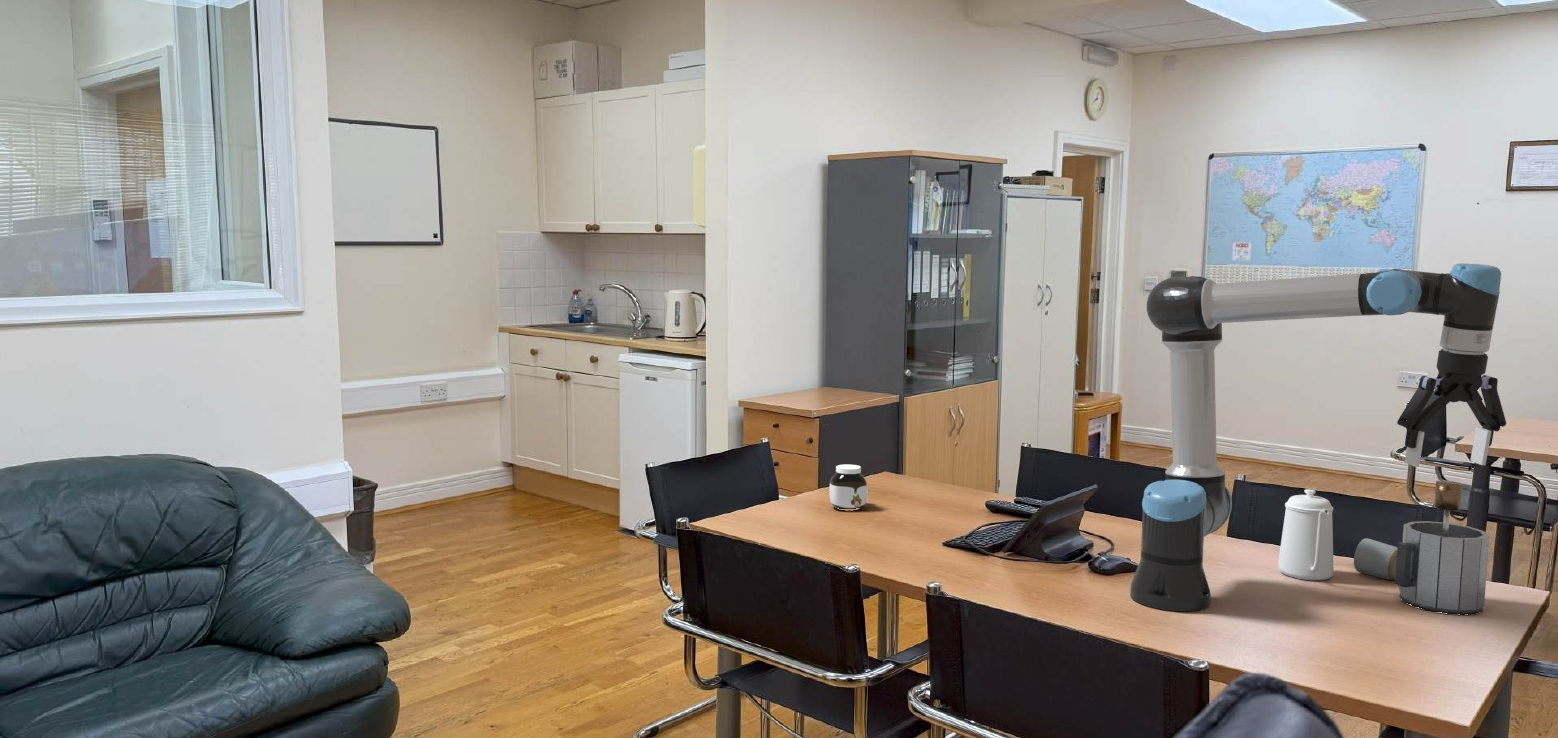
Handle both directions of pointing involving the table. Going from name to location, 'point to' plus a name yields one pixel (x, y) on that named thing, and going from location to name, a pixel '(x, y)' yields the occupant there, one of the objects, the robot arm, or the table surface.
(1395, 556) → the ceramic mug
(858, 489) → the spread jar
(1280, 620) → the table surface
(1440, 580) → the grey panelled tankard
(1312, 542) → the coffeepot
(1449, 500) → the plunger
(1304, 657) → the table surface
